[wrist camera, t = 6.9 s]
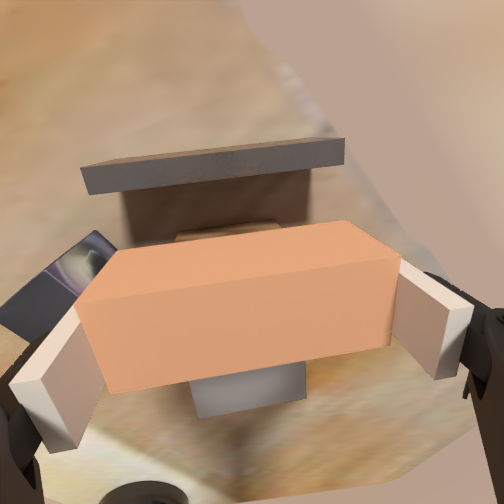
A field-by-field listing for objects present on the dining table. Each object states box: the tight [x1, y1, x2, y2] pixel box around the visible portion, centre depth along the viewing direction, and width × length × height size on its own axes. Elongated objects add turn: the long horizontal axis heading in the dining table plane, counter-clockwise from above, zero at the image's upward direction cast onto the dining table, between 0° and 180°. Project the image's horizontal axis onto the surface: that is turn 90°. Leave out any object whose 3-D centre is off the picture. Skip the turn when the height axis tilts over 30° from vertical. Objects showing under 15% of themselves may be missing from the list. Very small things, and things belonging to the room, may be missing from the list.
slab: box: [189, 361, 307, 419], centre depth 30 cm, size 12×14×4 cm
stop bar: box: [80, 138, 345, 195], centre depth 25 cm, size 20×2×8 cm, turn 96°
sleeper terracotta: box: [73, 220, 401, 395], centre depth 12 cm, size 11×4×4 cm, turn 95°
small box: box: [0, 230, 117, 343], centre depth 28 cm, size 11×6×10 cm, turn 37°
